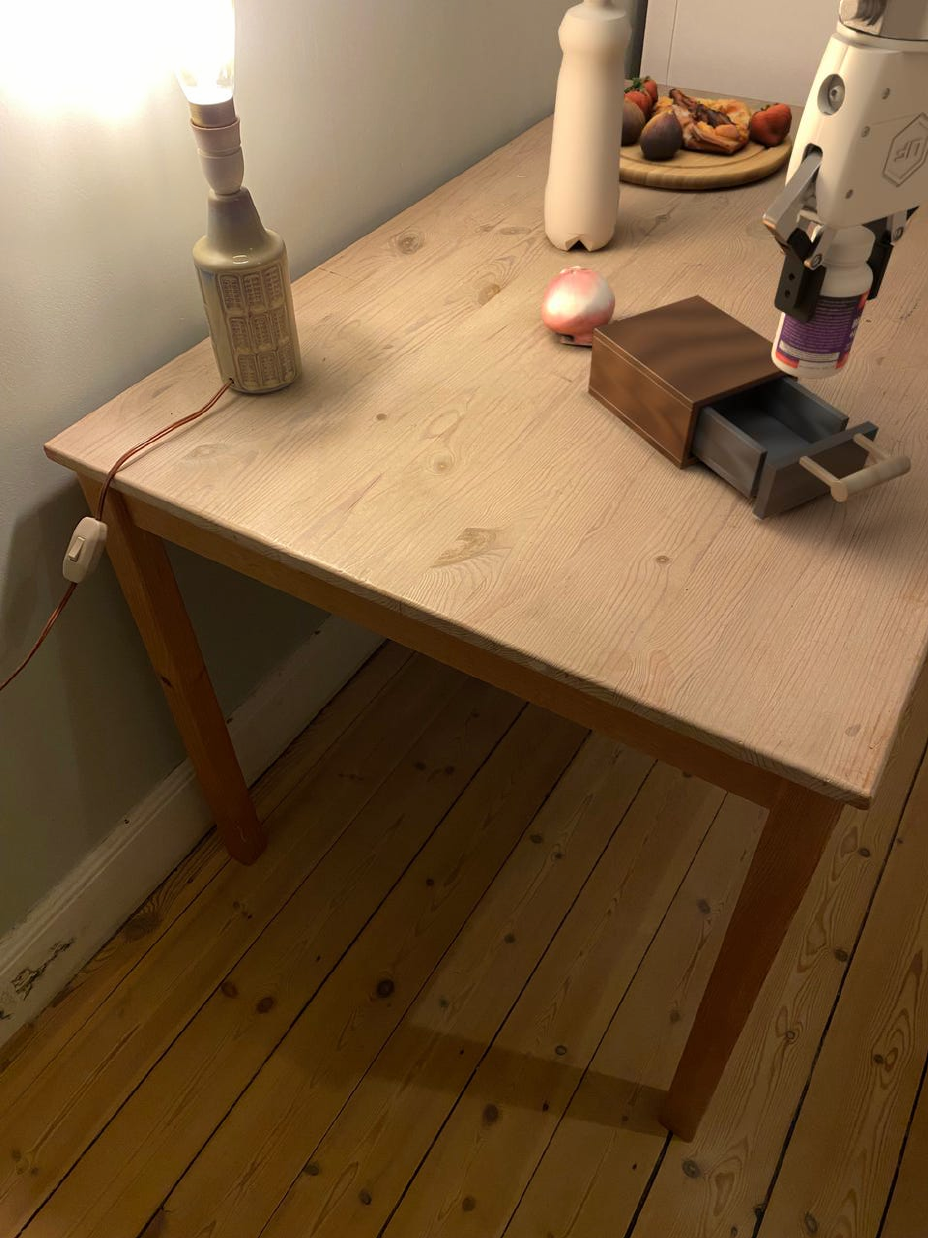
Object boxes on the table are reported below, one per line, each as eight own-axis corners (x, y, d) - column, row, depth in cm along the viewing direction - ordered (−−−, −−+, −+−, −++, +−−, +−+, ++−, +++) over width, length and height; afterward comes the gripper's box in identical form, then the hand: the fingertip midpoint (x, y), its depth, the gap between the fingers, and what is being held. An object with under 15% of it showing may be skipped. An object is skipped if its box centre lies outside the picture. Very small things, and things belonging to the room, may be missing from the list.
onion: (596, 312, 103) (602, 250, 97) (625, 346, 98) (633, 282, 92) (529, 324, 101) (532, 261, 96) (555, 359, 96) (560, 295, 91)
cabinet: (784, 427, 87) (803, 361, 82) (679, 469, 83) (693, 402, 78) (686, 357, 96) (698, 294, 91) (587, 392, 92) (594, 327, 87)
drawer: (907, 511, 77) (934, 451, 73) (807, 558, 73) (829, 498, 69) (755, 403, 88) (770, 345, 84) (661, 438, 85) (671, 380, 80)
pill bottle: (853, 381, 66) (897, 250, 59) (778, 381, 66) (814, 251, 59) (833, 342, 70) (873, 215, 63) (763, 343, 70) (794, 215, 63)
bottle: (614, 225, 118) (644, -60, 96) (615, 257, 112) (648, -39, 90) (543, 223, 119) (558, -60, 97) (541, 254, 112) (555, -40, 91)
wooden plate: (817, 135, 138) (833, 74, 132) (743, 212, 120) (757, 145, 114) (625, 99, 150) (631, 41, 144) (531, 164, 132) (533, 101, 126)
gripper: (852, 44, 47) (770, 361, 60) (1069, -4, 52) (950, 294, 65) (751, 11, 51) (695, 312, 64) (960, -31, 57) (870, 254, 70)
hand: (825, 300), depth 65 cm, fingers closed on pill bottle, 5 cm apart
